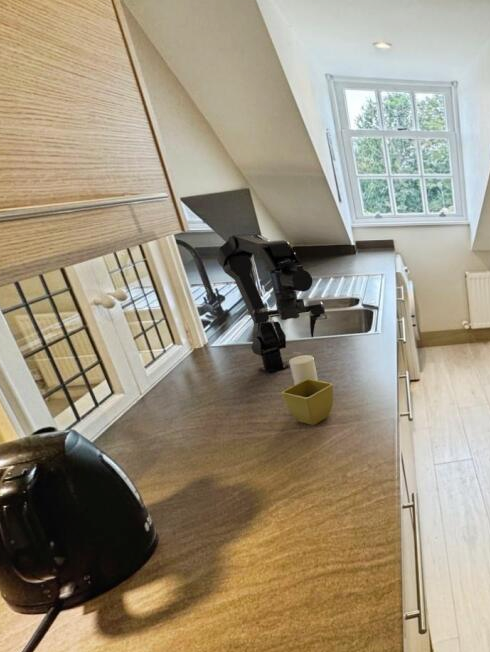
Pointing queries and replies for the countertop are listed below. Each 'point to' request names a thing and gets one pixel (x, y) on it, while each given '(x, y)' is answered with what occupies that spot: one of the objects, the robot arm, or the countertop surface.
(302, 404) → the flower pot
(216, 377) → the countertop surface
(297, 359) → the tall white cylinder
